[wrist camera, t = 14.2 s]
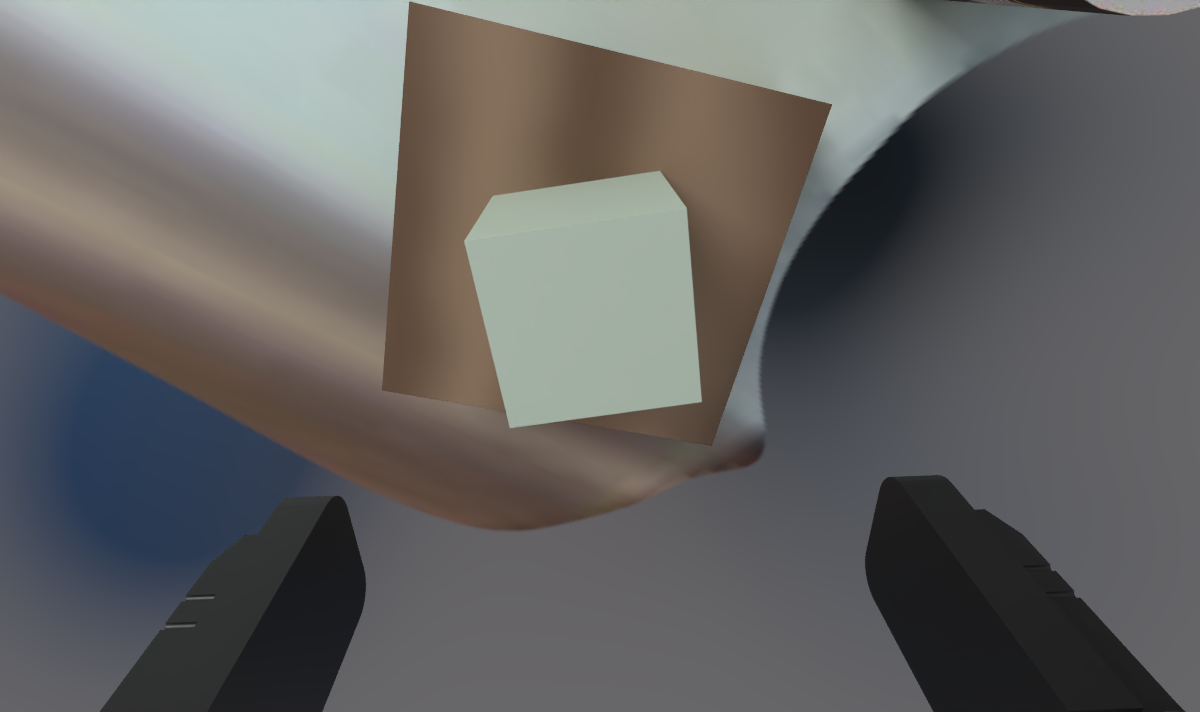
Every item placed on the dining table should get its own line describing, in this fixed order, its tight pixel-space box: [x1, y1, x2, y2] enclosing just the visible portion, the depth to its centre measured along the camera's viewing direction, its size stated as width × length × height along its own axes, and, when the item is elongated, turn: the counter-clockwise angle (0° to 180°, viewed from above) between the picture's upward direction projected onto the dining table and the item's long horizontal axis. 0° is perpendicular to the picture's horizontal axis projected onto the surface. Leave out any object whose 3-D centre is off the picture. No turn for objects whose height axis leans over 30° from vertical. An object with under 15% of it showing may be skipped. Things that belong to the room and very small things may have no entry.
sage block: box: [464, 171, 702, 428], centre depth 19 cm, size 6×6×6 cm
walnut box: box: [382, 2, 832, 446], centre depth 24 cm, size 13×13×6 cm
